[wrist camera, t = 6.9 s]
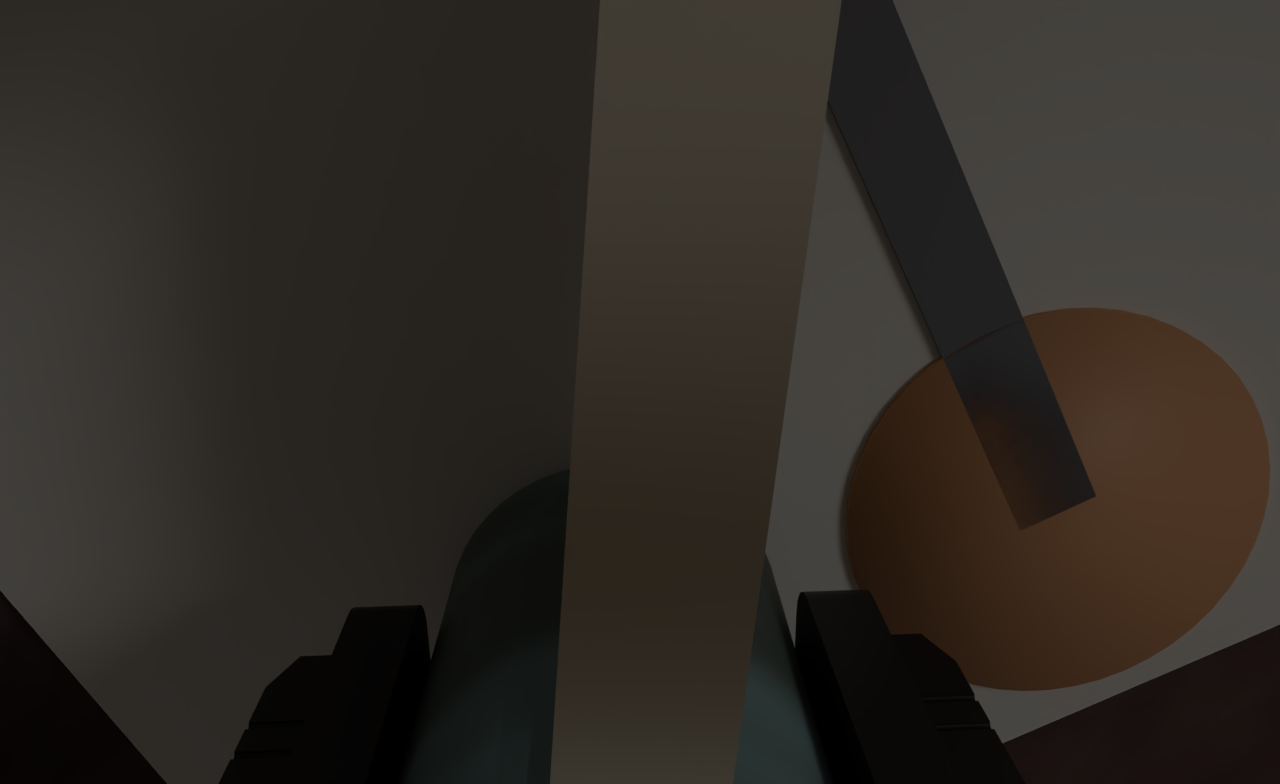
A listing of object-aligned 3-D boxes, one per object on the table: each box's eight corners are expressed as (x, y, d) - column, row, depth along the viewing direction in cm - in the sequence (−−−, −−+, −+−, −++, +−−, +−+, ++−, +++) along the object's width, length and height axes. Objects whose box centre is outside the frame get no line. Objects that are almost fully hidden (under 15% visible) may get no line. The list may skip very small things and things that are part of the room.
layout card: (1840, -1560, 8) (1920, -1664, 7) (1968, 302, 13) (2021, 313, 12) (-471, 1, 11) (-520, 0, 10) (373, 991, 16) (366, 1021, 15)
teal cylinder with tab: (466, -124, 10) (175, -408, 3) (878, -86, 10) (1386, -275, 3) (447, 738, 13) (286, 1451, 7) (756, 753, 13) (896, 1459, 7)
